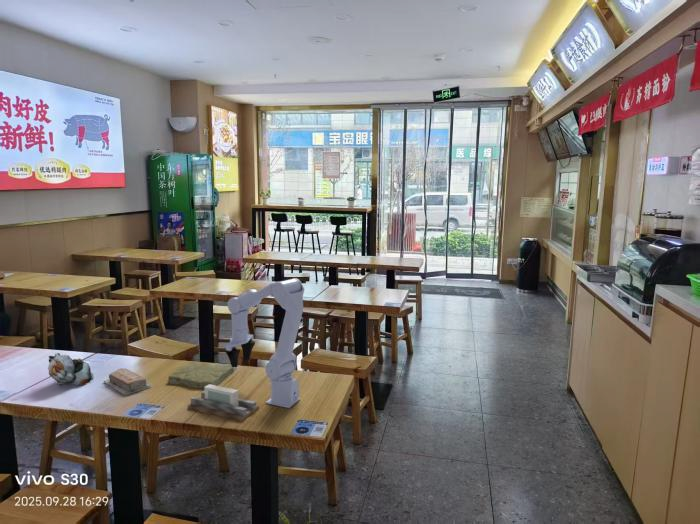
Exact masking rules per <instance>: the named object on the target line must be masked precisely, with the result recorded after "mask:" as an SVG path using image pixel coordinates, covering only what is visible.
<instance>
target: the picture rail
mask: <svg viewBox="0 0 700 524" xmlns="http://www.w3.org/2000/svg"><path fill="white" fill-rule="evenodd" d="M200 394H201V395H200V397H198V396H197V397H196V396H192V397H190V404H188V405H187V409H189V410H194V411H197V412H202V413H205V414H209V415H210V414H211V415H214V416H218V417H222V418H227V419H230V420H235V421H238V422H242V421H244V420H245V419H247V418H248V417H249V416H250V415H252V414H253V413H255V412H256V411H258V410H259V408H260V406H259V405H257V402H256V401H253V400H249V399H245V398H244V399H243V398H241V397H238V405H239V407H238V406H234V405H229V404H225V403H220V402H216V401H211V400H207V399H205V390H202V391H201V392H200Z"/></svg>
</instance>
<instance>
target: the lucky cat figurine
mask: <svg viewBox="0 0 700 524" xmlns="http://www.w3.org/2000/svg"><path fill="white" fill-rule="evenodd" d="M48 362H49V363H48V368H47V369H48V375H49V377H51V378H52V379H53V380H54V381H55V382H56V384H57V385H58V384H59V385H73V386H77V385H78V386H84V384H85V385H87V384H89V383H90V382H91V381H93V380H94V373H92V371H91V370H92V369H91V367H90V365H89V363H88V362H86V361H84V360H82V359H81V358H73V359H72V358H71V357H70V355H68V354H62V355H61V354H60V352H59V353H58V352H57V353H55V354H54V355H48ZM88 382H89V383H88ZM86 383H87V384H86Z"/></svg>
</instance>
